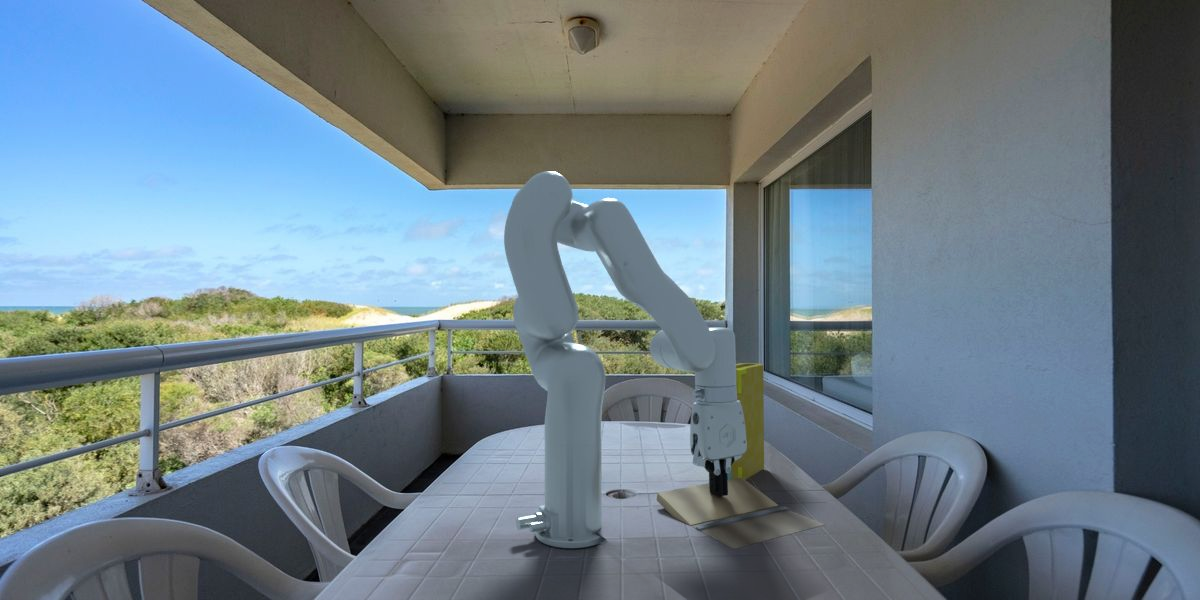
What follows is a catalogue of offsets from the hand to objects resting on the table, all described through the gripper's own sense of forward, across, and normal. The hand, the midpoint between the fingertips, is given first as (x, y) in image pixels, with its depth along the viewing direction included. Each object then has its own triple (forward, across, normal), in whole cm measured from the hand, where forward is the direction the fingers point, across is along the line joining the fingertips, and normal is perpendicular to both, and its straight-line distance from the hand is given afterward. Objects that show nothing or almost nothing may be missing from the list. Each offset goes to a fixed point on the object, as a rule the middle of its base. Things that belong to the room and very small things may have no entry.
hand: (718, 493), depth 103 cm
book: (+4, +18, +14) cm, 23 cm away
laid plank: (+4, -1, -11) cm, 12 cm away
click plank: (+2, -1, 0) cm, 2 cm away
